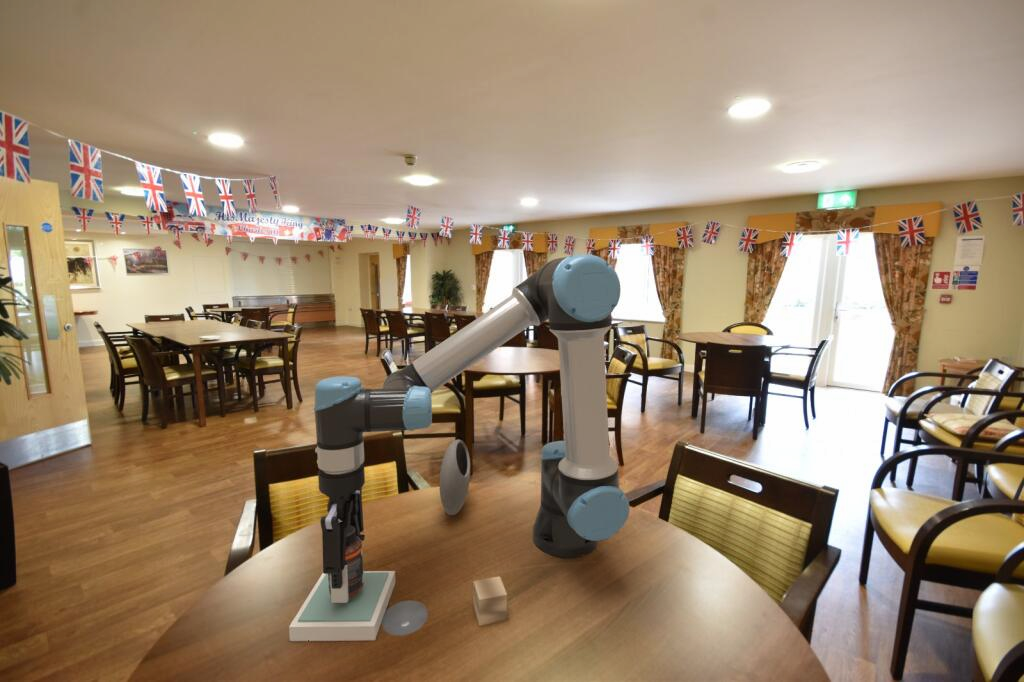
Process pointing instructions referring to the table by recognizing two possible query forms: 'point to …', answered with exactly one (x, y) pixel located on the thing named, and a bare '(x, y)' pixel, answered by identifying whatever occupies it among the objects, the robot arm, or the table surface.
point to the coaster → (404, 617)
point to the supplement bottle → (353, 562)
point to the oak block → (490, 600)
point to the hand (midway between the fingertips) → (346, 587)
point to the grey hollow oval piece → (454, 477)
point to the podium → (344, 611)
